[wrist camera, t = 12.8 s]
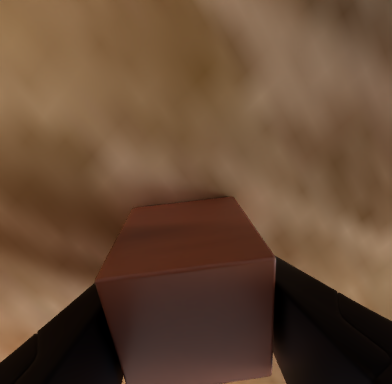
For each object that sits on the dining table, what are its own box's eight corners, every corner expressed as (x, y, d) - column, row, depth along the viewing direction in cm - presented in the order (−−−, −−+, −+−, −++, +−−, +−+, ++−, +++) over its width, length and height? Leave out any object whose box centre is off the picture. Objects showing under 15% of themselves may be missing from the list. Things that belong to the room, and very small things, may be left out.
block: (236, 277, 10) (273, 377, 6) (148, 288, 10) (129, 398, 6) (233, 195, 8) (278, 257, 5) (131, 206, 8) (91, 281, 4)
